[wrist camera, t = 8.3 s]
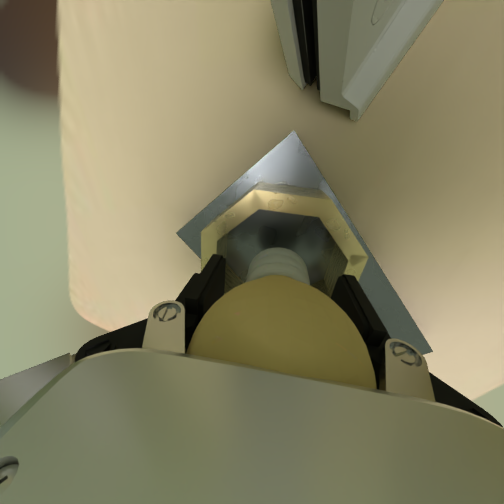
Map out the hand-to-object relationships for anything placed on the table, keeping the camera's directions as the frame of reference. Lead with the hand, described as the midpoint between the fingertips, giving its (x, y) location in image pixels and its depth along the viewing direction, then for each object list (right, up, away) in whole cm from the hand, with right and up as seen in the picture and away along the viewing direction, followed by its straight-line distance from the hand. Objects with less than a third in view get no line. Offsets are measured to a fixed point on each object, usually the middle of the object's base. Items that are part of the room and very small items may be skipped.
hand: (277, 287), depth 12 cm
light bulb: (0, +1, +2) cm, 2 cm away
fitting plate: (+4, -1, +7) cm, 8 cm away
